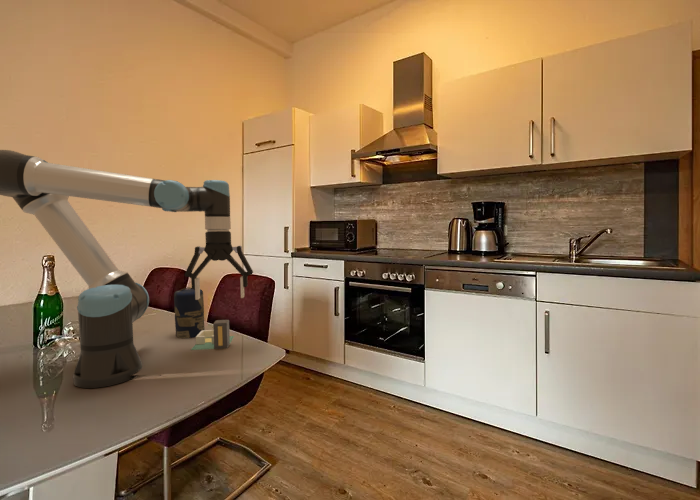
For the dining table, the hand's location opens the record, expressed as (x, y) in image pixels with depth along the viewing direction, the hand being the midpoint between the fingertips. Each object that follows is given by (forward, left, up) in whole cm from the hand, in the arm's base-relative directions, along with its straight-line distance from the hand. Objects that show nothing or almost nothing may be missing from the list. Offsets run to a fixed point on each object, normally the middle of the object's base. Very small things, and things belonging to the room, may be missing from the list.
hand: (220, 298), depth 116 cm
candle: (+15, +14, -17) cm, 27 cm away
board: (+4, +3, -17) cm, 18 cm away
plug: (0, 0, -16) cm, 16 cm away
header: (+7, +5, -16) cm, 18 cm away
